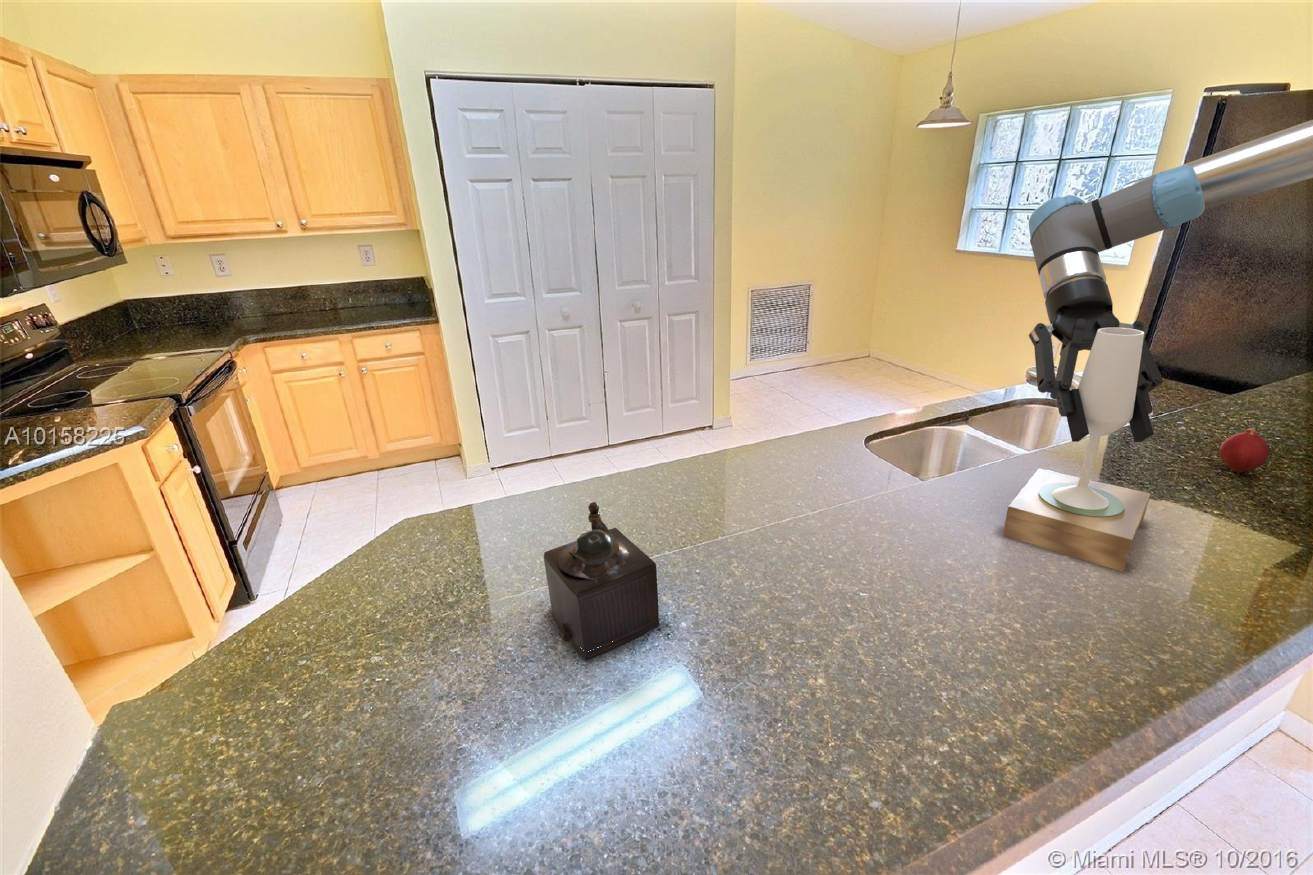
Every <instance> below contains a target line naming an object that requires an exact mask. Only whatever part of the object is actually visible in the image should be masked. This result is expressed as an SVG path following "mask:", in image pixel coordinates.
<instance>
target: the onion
mask: <svg viewBox="0 0 1313 875" xmlns="http://www.w3.org/2000/svg"><path fill="white" fill-rule="evenodd" d="M1218 455H1219V458H1220V460H1221V461H1222V462H1223V463H1224V464H1225V465H1226V466H1227V467H1228V468H1229V469H1230V470H1231V471H1232V472H1234V473H1238V474H1241V473H1245V472H1249V471H1253V470H1255V469H1258V468H1260V467H1262V466H1263V465H1265V463H1266V462H1267V461H1268V459H1269V455H1270V447H1269V444H1268V443H1267V442H1266V440H1265V439H1264V438H1263V437H1261V435H1259V434H1258V433H1257V431H1256V429H1254V428H1248V429H1245V431H1244V432H1240V433H1235V434H1233V435H1231V436H1229V437H1228V438H1226V439H1225V440H1224V441H1223V442H1222V444H1221V445H1220V448H1219V454H1218Z"/></svg>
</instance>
